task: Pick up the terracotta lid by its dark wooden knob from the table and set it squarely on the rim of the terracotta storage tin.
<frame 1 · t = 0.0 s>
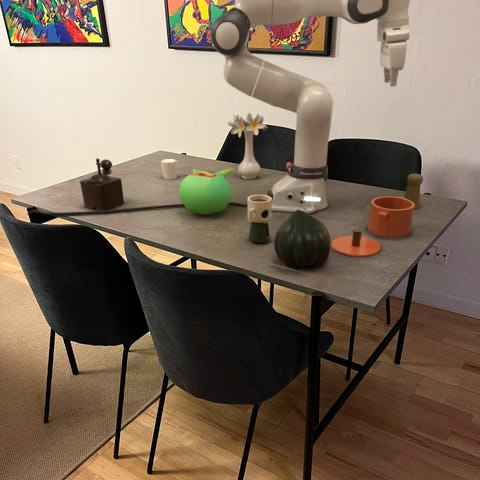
hand: (390, 84, 150), 39 cm above the table, tool pointing down, fingers open, 8 cm apart
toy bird: (207, 212, 167), on the table
cork: (410, 206, 170), on the table
flower vase: (247, 177, 202), on the table
pot: (388, 231, 151), on the table
lid: (355, 246, 139), point 1 cm above the table
white short cylinder: (170, 178, 203), on the table
squash: (300, 263, 132), on the table
coffee grinder: (109, 207, 173), on the table
character mug: (259, 240, 146), on the table
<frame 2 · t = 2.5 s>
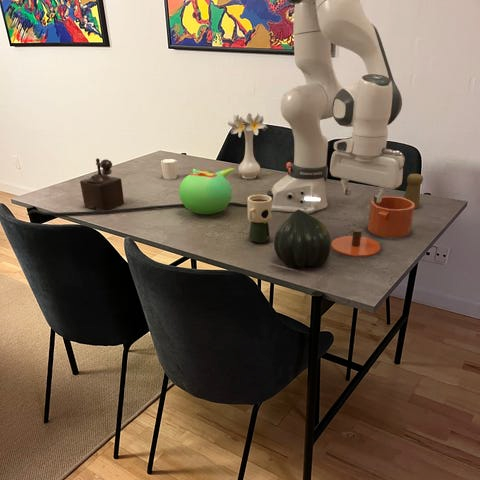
hand: (361, 198, 132), 15 cm above the table, tool pointing down, fingers open, 8 cm apart
nothing on the table moved.
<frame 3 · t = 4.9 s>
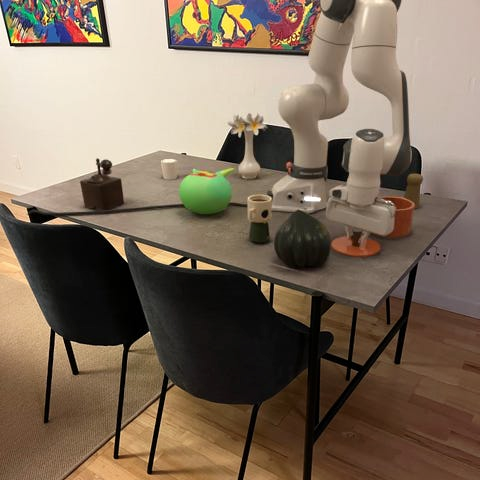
hand: (356, 241, 138), 2 cm above the table, tool pointing down, fingers closed on lid, 2 cm apart
lid: (355, 246, 139), point 1 cm above the table, touching gripper
everything else where it was.
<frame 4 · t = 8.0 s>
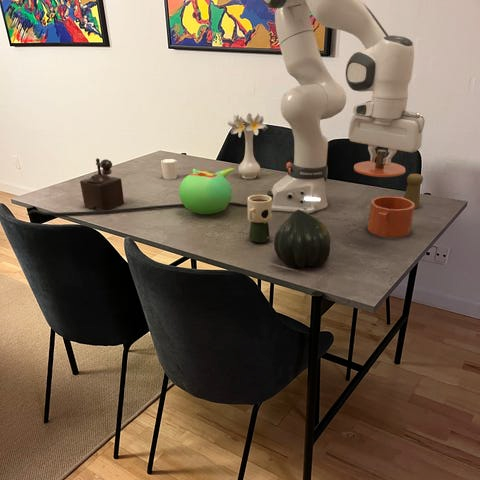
hand: (380, 163, 132), 23 cm above the table, tool pointing down, fingers closed on lid, 2 cm apart
lid: (379, 169, 133), point 21 cm above the table, touching gripper
everything else where it was.
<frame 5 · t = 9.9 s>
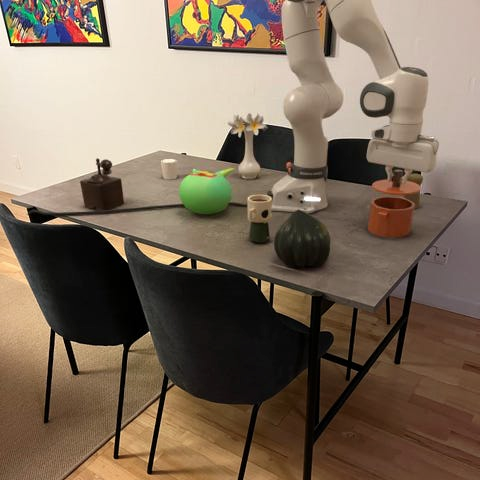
hand: (396, 182, 142), 15 cm above the table, tool pointing down, fingers closed on lid, 2 cm apart
lid: (395, 187, 143), point 14 cm above the table, touching gripper
everything else where it was.
when the fingers open (11 cm above the table, at t = 11.4 s): lid stays where it is, resting on pot.
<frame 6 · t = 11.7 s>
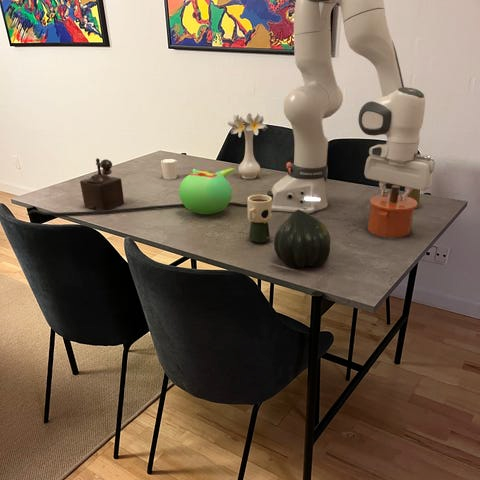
hand: (393, 198, 145), 10 cm above the table, tool pointing down, fingers open, 5 cm apart
lid: (393, 203, 146), point 9 cm above the table, touching pot
everything else where it was.
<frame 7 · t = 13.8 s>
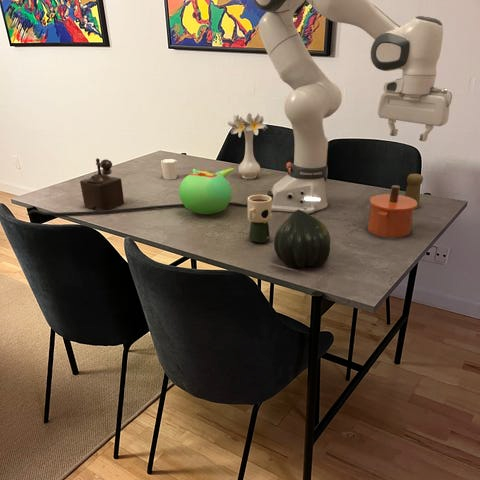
hand: (407, 138, 141), 27 cm above the table, tool pointing down, fingers open, 8 cm apart
nothing on the table moved.
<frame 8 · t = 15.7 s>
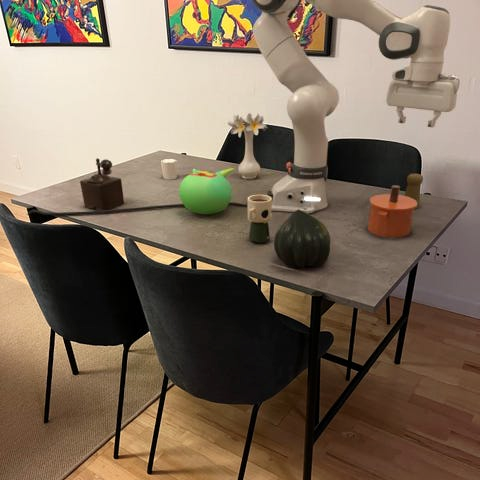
hand: (416, 124, 145), 29 cm above the table, tool pointing down, fingers open, 8 cm apart
nothing on the table moved.
at the end: lid 0.1 cm off-centre on the pot, point 9.0 cm above the pot's base; lid tilted 0°; the gripper is holding nothing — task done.
